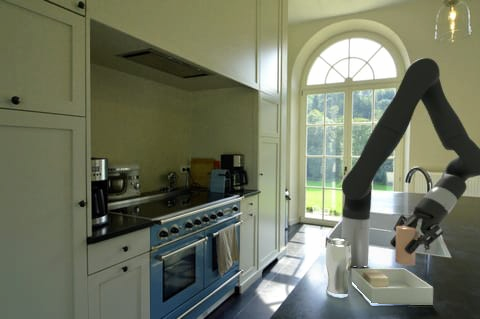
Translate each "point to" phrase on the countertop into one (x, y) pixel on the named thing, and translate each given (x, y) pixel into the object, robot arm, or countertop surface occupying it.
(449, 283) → the countertop surface
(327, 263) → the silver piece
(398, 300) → the grey tote
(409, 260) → the terracotta cylinder
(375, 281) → the beech cube
